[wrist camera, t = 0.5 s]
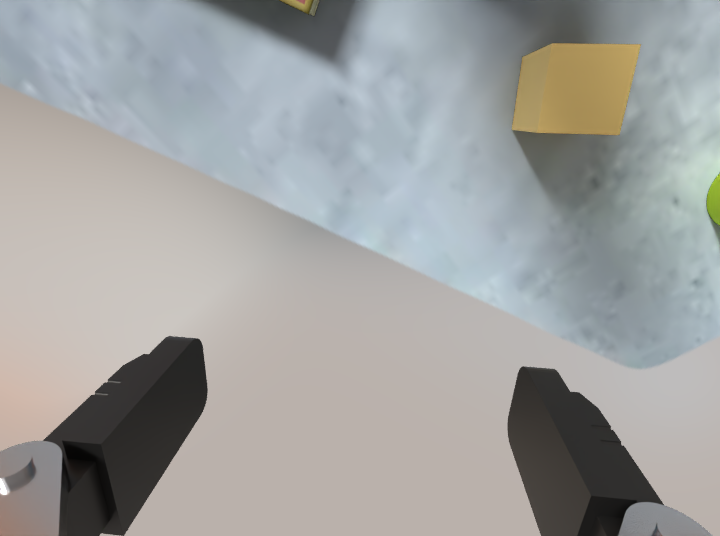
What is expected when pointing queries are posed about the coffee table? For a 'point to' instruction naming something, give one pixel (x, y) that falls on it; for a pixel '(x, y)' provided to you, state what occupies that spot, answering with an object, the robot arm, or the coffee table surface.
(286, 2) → the hardcover book
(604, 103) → the tan wooden block
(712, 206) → the soap dispenser
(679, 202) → the coffee table surface
